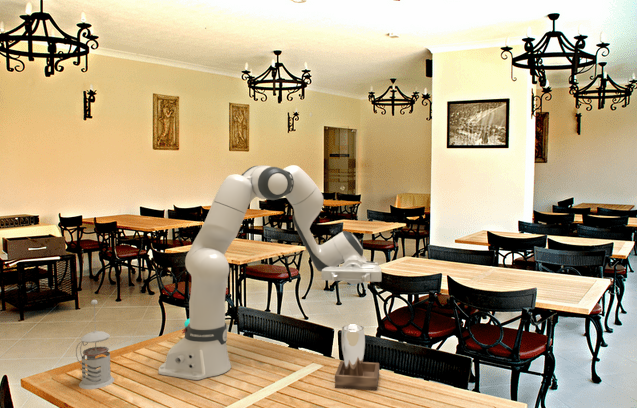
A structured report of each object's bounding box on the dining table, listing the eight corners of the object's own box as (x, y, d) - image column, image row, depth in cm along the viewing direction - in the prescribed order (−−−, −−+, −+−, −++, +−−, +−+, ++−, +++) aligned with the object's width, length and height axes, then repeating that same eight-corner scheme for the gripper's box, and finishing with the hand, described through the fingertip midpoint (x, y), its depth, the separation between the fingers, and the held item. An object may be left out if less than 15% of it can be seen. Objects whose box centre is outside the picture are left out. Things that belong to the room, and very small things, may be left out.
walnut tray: (335, 387, 143) (334, 375, 143) (340, 371, 155) (340, 360, 155) (376, 390, 141) (376, 378, 141) (379, 374, 153) (379, 363, 153)
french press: (98, 390, 143) (95, 304, 142) (66, 386, 147) (63, 302, 145) (121, 377, 152) (119, 297, 151) (91, 373, 156) (88, 294, 155)
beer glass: (364, 382, 144) (363, 332, 143) (340, 381, 146) (339, 331, 144) (366, 372, 151) (365, 324, 150) (343, 371, 152) (342, 323, 151)
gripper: (324, 261, 176) (317, 268, 162) (382, 262, 172) (380, 269, 158) (324, 279, 176) (317, 287, 162) (382, 280, 172) (380, 289, 159)
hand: (349, 278), depth 160 cm, fingers open, 8 cm apart
